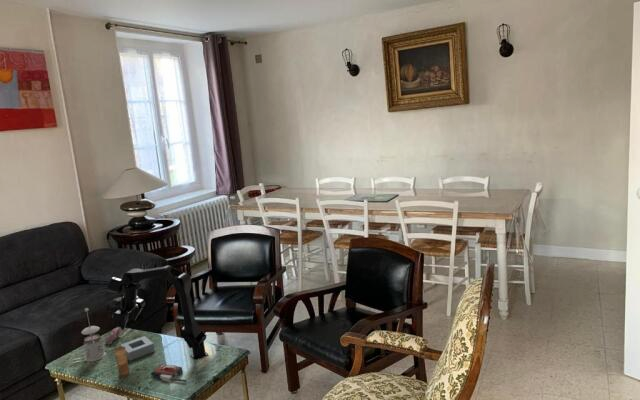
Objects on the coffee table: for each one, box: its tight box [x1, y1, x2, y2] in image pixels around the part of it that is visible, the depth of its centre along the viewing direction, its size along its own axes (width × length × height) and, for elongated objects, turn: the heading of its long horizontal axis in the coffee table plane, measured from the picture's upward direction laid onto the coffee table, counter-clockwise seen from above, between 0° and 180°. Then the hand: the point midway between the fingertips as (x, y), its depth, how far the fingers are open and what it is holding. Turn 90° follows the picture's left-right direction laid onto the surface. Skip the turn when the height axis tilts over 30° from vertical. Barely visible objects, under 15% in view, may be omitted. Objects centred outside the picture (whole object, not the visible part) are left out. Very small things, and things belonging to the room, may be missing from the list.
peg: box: [114, 346, 131, 378], centre depth 212 cm, size 4×4×12 cm
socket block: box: [120, 335, 155, 361], centre depth 234 cm, size 12×12×4 cm
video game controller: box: [104, 327, 122, 345], centre depth 250 cm, size 10×5×7 cm, turn 179°
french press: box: [80, 307, 107, 362], centre depth 232 cm, size 10×12×25 cm
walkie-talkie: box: [150, 363, 187, 383], centre depth 208 cm, size 9×4×20 cm
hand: (128, 325), depth 229 cm, fingers open, 9 cm apart
